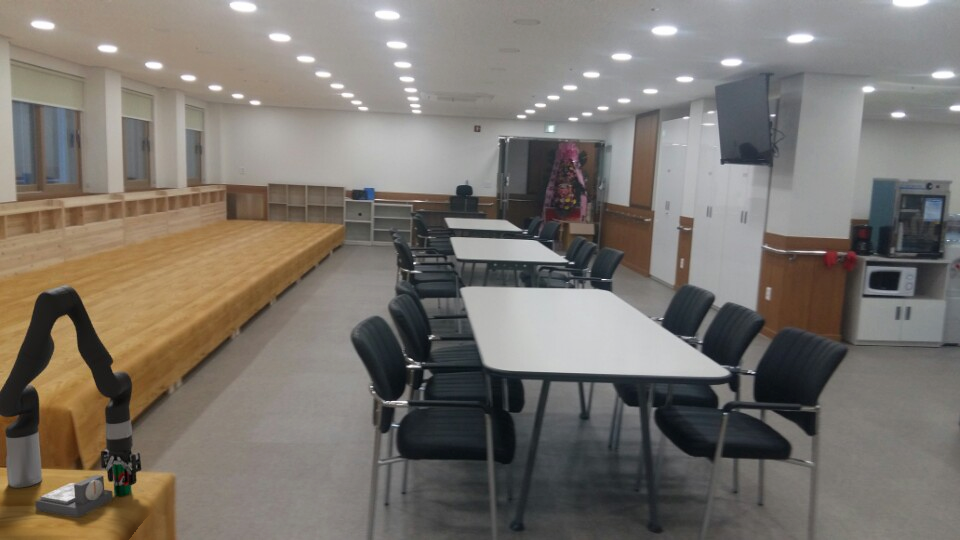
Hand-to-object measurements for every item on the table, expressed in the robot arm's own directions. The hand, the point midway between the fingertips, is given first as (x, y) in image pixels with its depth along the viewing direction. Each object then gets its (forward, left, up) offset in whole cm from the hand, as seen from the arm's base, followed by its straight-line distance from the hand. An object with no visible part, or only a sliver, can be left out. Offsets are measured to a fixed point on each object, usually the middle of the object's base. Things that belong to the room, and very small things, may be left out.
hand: (122, 482), depth 226 cm
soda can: (0, 0, -4) cm, 4 cm away
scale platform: (-10, -11, -1) cm, 15 cm away
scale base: (-8, -11, -4) cm, 14 cm away
